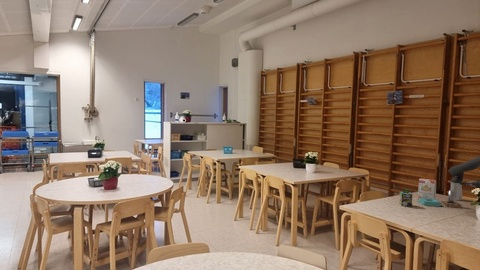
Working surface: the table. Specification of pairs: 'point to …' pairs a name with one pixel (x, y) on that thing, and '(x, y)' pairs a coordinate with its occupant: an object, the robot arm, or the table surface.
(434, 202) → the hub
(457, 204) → the frame
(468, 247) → the table surface
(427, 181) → the cracker box
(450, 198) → the peg
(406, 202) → the chalk box
